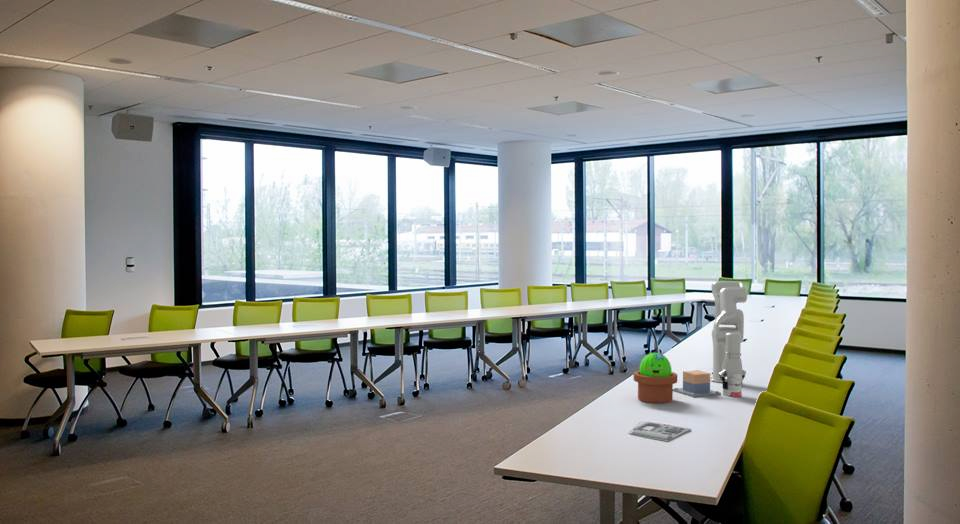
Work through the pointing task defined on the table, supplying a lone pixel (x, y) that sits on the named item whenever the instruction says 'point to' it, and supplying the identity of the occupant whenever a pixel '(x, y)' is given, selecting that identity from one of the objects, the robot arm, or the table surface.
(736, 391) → the ink box
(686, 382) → the studded square plate
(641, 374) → the potted cactus
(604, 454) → the table surface
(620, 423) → the table surface
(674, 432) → the grey flat panel
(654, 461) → the table surface
